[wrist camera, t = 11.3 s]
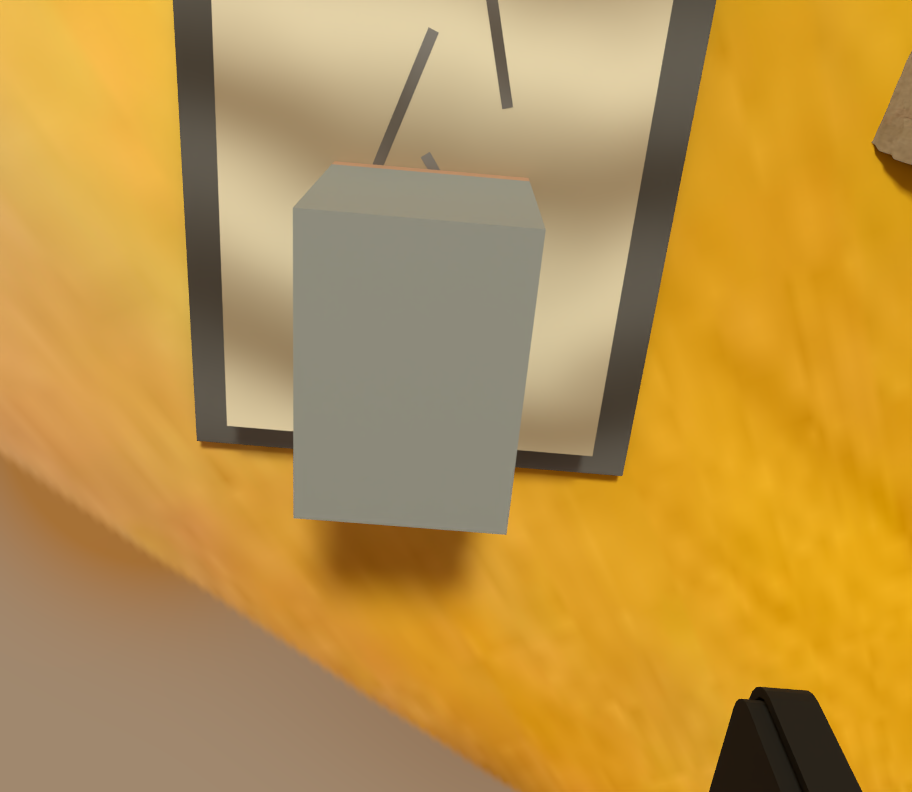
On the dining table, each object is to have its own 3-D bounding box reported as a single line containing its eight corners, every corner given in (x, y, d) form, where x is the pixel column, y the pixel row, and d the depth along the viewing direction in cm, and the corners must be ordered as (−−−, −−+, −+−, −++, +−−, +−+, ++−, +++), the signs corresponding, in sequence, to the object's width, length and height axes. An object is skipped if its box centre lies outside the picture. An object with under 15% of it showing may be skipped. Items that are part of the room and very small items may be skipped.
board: (159, -367, 20) (128, -404, 18) (770, -304, 20) (800, -335, 19) (201, 434, 29) (183, 461, 28) (620, 468, 30) (629, 498, 28)
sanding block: (334, 161, 23) (292, 207, 18) (528, 177, 23) (546, 229, 18) (329, 414, 27) (293, 518, 21) (499, 428, 27) (506, 534, 21)
